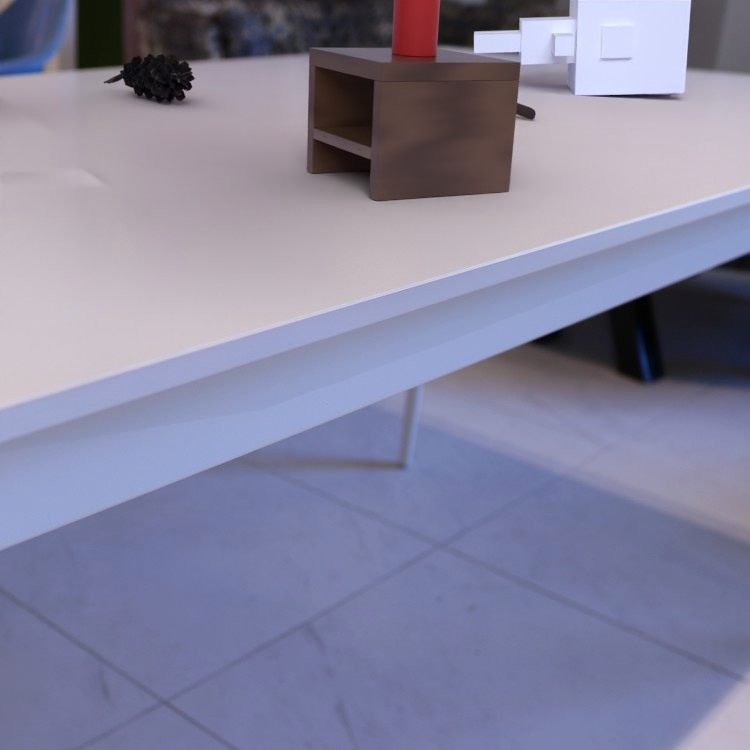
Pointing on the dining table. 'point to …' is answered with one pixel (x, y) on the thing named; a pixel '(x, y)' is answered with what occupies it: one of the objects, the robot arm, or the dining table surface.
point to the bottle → (415, 28)
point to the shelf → (413, 120)
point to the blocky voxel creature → (605, 45)
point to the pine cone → (157, 77)
